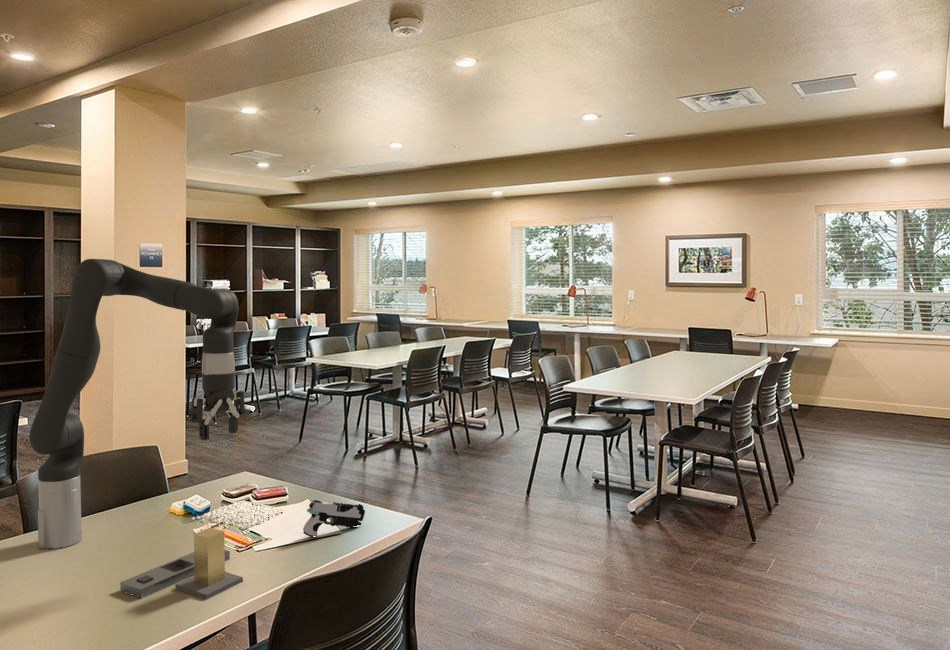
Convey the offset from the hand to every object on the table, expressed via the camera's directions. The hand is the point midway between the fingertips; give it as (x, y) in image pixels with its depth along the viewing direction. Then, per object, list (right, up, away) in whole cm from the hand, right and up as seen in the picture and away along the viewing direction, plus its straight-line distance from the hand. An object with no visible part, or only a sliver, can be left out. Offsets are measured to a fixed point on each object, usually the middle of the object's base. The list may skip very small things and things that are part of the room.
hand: (219, 436), depth 167 cm
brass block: (+3, -30, -14) cm, 33 cm away
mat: (+3, -31, -14) cm, 34 cm away
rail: (-6, -31, -9) cm, 32 cm away
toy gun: (+25, -30, +19) cm, 43 cm away
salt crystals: (-5, -29, +31) cm, 43 cm away
